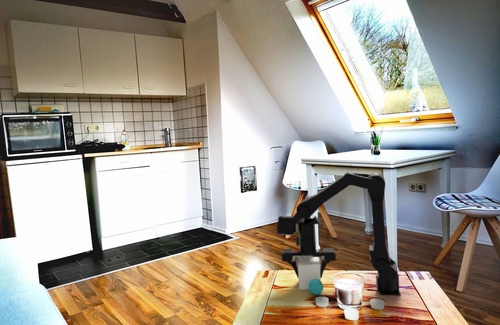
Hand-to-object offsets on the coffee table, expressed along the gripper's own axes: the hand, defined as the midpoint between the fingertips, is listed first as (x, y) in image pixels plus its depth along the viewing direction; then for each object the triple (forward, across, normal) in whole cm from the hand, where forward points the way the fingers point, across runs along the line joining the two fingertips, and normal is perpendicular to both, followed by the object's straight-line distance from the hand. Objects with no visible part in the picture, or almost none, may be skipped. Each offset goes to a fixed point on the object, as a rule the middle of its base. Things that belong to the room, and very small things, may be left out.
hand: (309, 277), depth 131 cm
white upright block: (+3, 0, 0) cm, 3 cm away
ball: (0, -2, +7) cm, 7 cm away
